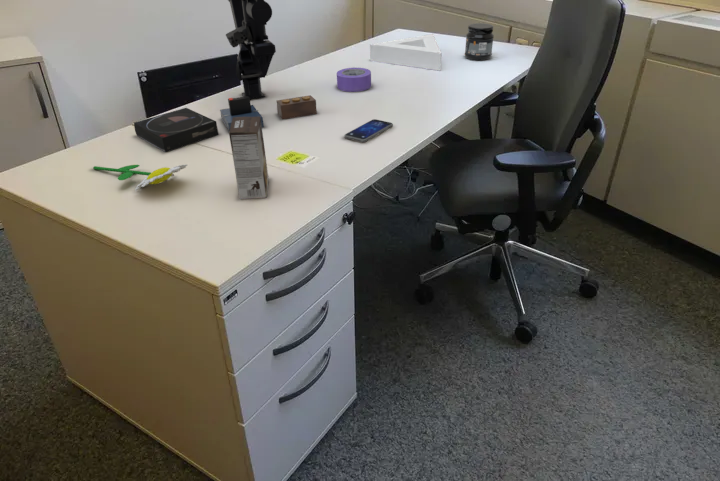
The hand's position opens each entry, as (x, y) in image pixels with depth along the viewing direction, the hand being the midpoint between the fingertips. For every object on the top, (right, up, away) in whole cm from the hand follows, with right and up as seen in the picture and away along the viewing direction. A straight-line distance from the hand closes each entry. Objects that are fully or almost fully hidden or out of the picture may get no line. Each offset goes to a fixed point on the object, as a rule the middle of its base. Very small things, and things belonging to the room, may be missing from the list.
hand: (260, 71), depth 166 cm
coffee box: (+5, -39, -38) cm, 55 cm away
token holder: (+11, -12, +3) cm, 16 cm away
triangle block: (+47, +20, +51) cm, 72 cm away
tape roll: (+28, +2, +25) cm, 37 cm away
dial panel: (-5, -16, -2) cm, 17 cm away
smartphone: (+33, -20, -10) cm, 40 cm away
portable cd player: (-22, -21, -9) cm, 32 cm away
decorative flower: (-24, -37, -33) cm, 55 cm away
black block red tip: (-5, -13, -4) cm, 15 cm away
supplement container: (+77, +21, +52) cm, 95 cm away
